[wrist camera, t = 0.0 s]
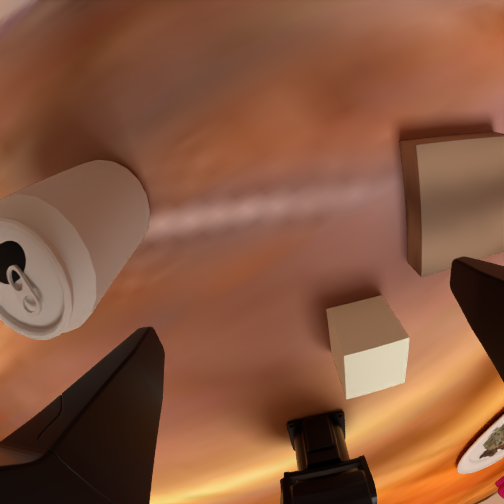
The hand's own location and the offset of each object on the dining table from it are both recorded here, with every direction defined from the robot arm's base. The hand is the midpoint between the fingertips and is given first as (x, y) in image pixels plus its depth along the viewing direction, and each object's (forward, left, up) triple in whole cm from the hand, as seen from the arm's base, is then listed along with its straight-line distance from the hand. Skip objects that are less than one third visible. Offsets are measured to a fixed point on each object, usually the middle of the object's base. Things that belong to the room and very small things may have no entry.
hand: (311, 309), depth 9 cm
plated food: (-54, -41, -15) cm, 70 cm away
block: (-13, -5, -15) cm, 21 cm away
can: (+2, +12, -15) cm, 19 cm away
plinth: (-3, -15, -15) cm, 22 cm away
